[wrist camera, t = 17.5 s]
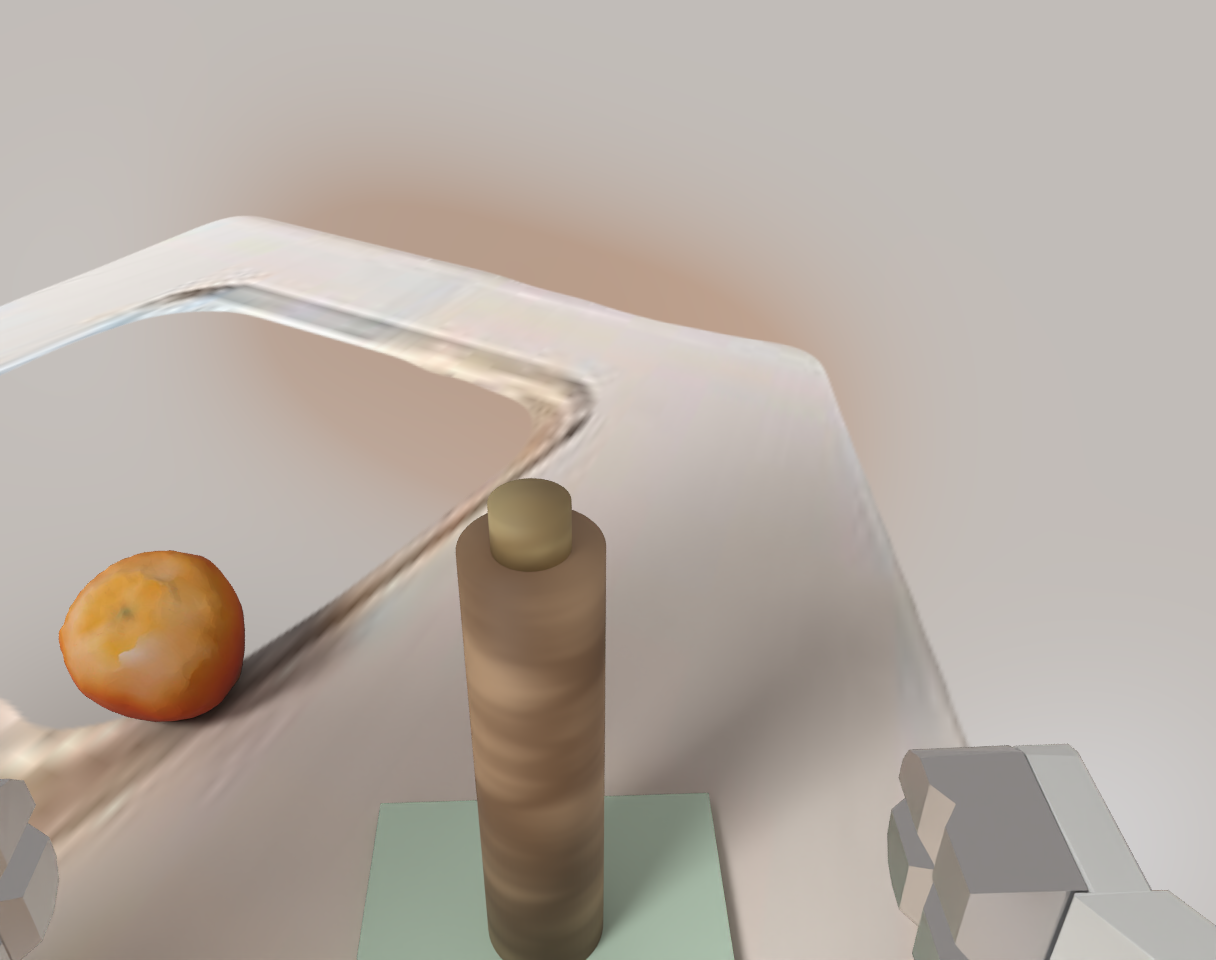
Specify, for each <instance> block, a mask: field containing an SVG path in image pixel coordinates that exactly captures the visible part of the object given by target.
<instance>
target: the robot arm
mask: <svg viewBox="0 0 1216 960" xmlns="http://www.w3.org/2000/svg"><path fill="white" fill-rule="evenodd" d="M899 780H900V783H901V786H902V789H903V792H904V795H905V798H904V799H903V800H902V801H901V802H900V803H899V804H897V805H896V806H895V807H894V808H893V809H892V810H891V816H890V821H889V827H888V833H887V841H888V865H889V870H890V876H891V881H892V886H893V890H894V893H895V897H896V900H897V904H898V907H899V910H900V911H901V912H902V913H904V914H905V915H906V916H907V917H908V918H909V919H910V920H911V921H912V922H913V923H915V924H916V925H917V926H918V931H917V935H916V939H915V943H914V947H913V951H912V954H913V957H914V960H1216V926H1215V925H1214V924H1213V923H1211V922H1210V921H1209V920H1207V919H1206V918H1205V917H1203V916H1202V915H1201V914H1199V913H1198V912H1197V911H1195V910H1194V909H1193V908H1191V907H1190V906H1189V905H1187V904H1186V903H1185V902H1183V901H1182V900H1180V899H1179V898H1178V897H1177V896H1175V895H1174V894H1172V893H1171V892H1170V891H1168V890H1151V888H1150V886H1149V884H1148V882H1147V880H1146V879H1145V877H1144V875H1143V873H1142V871H1141V869H1140V867H1139V865H1138V863H1137V862H1136V860H1135V858H1134V856H1133V854H1132V852H1131V850H1130V848H1129V847H1128V845H1127V843H1126V841H1125V839H1124V837H1123V835H1122V834H1121V832H1120V830H1119V828H1118V826H1117V824H1116V822H1115V820H1114V818H1113V817H1112V815H1111V813H1110V811H1109V809H1108V807H1107V805H1106V804H1105V802H1104V800H1103V798H1102V796H1101V794H1100V792H1099V790H1098V789H1097V787H1096V785H1095V783H1094V781H1093V779H1092V777H1091V776H1090V774H1089V772H1088V770H1087V768H1086V766H1085V764H1084V762H1083V760H1082V759H1081V757H1080V755H1079V753H1078V752H1077V751H1076V750H1075V749H1074V748H1072V747H1071V746H1070V745H1069V744H1053V745H1052V744H1051V745H1025V746H1024V745H1023V746H1014V747H1011V746H1009V745H1006V746H984V747H960V748H937V749H913V750H909V751H908V752H907V754H906V755H905V757H904V758H903V761H902V765H901V769H900V774H899ZM35 806H36V804H35V802H34V800H33V798H32V796H31V794H30V792H29V790H28V788H27V786H26V784H25V782H24V781H23V780H14V779H0V960H21V959H22V958H23V957H24V956H26V955H27V954H28V953H29V952H30V951H31V950H33V949H34V948H35V947H36V946H37V945H38V944H40V943H41V942H42V941H43V938H44V936H45V933H46V930H47V928H48V925H49V923H50V920H51V918H52V915H53V913H54V908H55V901H56V895H57V888H58V882H59V875H58V866H57V857H56V853H55V851H54V848H53V846H52V843H51V841H50V838H49V837H48V836H46V835H45V834H43V833H42V832H40V831H39V830H37V829H36V828H34V827H33V826H31V825H30V824H28V820H29V818H30V816H31V814H32V812H33V810H34V808H35Z"/></svg>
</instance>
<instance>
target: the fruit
mask: <svg viewBox="0 0 1216 960" xmlns="http://www.w3.org/2000/svg"><path fill="white" fill-rule="evenodd" d="M59 643H60V648H61V651H62V653H63V657H64V662H65V665H66V667H67V669H68V671H69V673H70V675H71V677H72V679H73V681H74V683H75V684H76V686H77V687H78V689H79V690H80V691H81V692H82V693H83V694H84V695H85V696H86V697H88V698H89V699H91V700H93V701H94V702H96V703H97V704H99V705H101V706H102V707H104V708H106V709H108V710H110V711H112V712H115V713H118V714H121V715H124V716H127V717H130V718H135V719H140V720H147V721H154V722H161V721H177V720H182V719H189V718H194V717H196V716H198V715H201V714H203V713H205V712H208V711H209V710H211V709H212V708H214V707H215V706H217V705H218V704H219V703H221V702H222V701H223V699H224V698H225V696H226V695H227V694H228V692H229V691H230V689H231V688H232V687H233V686H234V685H235V683H236V682H237V680H238V679H239V677H240V673H241V669H242V665H243V658H244V650H245V628H244V617H243V610H242V606H241V604H240V602H239V599H238V597H237V595H236V593H235V591H234V589H233V587H232V586H231V584H230V583H229V582H228V580H227V579H226V578H225V577H224V575H223V574H222V572H221V571H220V570H219V569H218V568H217V567H216V566H215V565H214V564H213V563H212V562H211V561H210V560H208V559H206V558H204V557H202V556H198V555H193V554H187V553H181V552H176V551H171V550H169V551H153V552H144V553H140V554H137V555H134V556H132V557H129V558H125V559H122V560H120V561H119V562H117V563H115V564H112V565H110V566H109V567H108V568H107V569H106V570H105V571H103V572H101V573H99V574H98V575H97V576H96V577H95V578H94V579H93V580H92V581H90V582H89V583H88V584H87V585H86V587H85V588H84V589H83V590H82V591H81V592H80V593H79V595H78V596H77V598H76V599H75V601H74V602H73V604H72V605H71V606H70V608H69V612H68V613H67V616H66V618H65V622H64V625H63V626H62V628H61V629H60V631H59Z"/></svg>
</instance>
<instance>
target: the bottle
mask: <svg viewBox="0 0 1216 960" xmlns="http://www.w3.org/2000/svg"><path fill="white" fill-rule="evenodd" d="M487 508H488V513H487V514H485V515H483V516H481V517H479V518H478V519H476V520H475V521H473V522H472V523H471V524H470V525H468V526H467V528H466V529H465V530H464V531H463V532H462V534H461V535H460V537H459V539H458V541H457V545H456V562H457V574H458V585H459V597H460V608H461V620H462V631H463V643H464V654H465V666H466V678H467V689H468V701H469V712H470V724H471V735H472V747H473V758H474V770H475V781H476V793H477V804H478V816H479V827H480V839H481V851H482V862H483V874H484V885H485V897H486V908H487V920H488V931H489V937H490V940H491V943H492V945H493V947H494V949H495V951H496V952H497V954H498V955H499V956H500V957H501V958H502V959H503V960H586V959H587V958H588V957H589V956H590V955H591V954H592V953H593V951H594V950H595V948H596V947H597V945H598V943H599V941H600V938H601V935H602V931H603V906H604V766H605V626H606V542H605V538H604V535H603V533H602V531H601V530H600V528H599V527H598V526H597V525H596V524H595V523H594V522H593V521H592V520H590V519H589V518H587V517H586V516H584V515H583V514H580V513H578V512H576V511H574V510H572V505H571V496H570V494H569V493H568V491H567V490H566V489H565V488H564V487H562V486H561V485H559V484H557V483H555V482H552V481H548V480H544V479H536V478H528V479H519V480H514V481H510V482H508V483H505V484H503V485H501V486H499V487H498V488H496V489H495V490H494V491H493V492H492V493H491V494H490V496H489V498H488V501H487Z"/></svg>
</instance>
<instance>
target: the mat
mask: <svg viewBox="0 0 1216 960" xmlns="http://www.w3.org/2000/svg"><path fill="white" fill-rule="evenodd" d="M357 960H503V959H502V958H501V957H500V956H499V955H498V954H497V952H496V951H495V949H494V947H493V945H492V943H491V940H490V937H489V931H488V920H487V908H486V897H485V885H484V874H483V862H482V851H481V839H480V827H479V816H478V804H477V800H470V801H440V802H409V803H381V804H380V811H379V817H378V824H377V830H376V837H375V843H374V850H373V856H372V863H371V869H370V876H369V882H368V889H367V895H366V902H365V908H364V915H363V921H362V928H361V934H360V941H359V947H358V954H357ZM586 960H734V955H733V948H732V942H731V935H730V929H729V922H728V916H727V909H726V903H725V896H724V890H723V884H722V877H721V871H720V864H719V858H718V851H717V845H716V838H715V832H714V825H713V819H712V812H711V806H710V799H709V793H687V794H656V795H625V796H604V906H603V931H602V935H601V938H600V941H599V943H598V945H597V947H596V948H595V950H594V951H593V953H592V954H591V955H590V956H589V957H588V958H587V959H586Z"/></svg>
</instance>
